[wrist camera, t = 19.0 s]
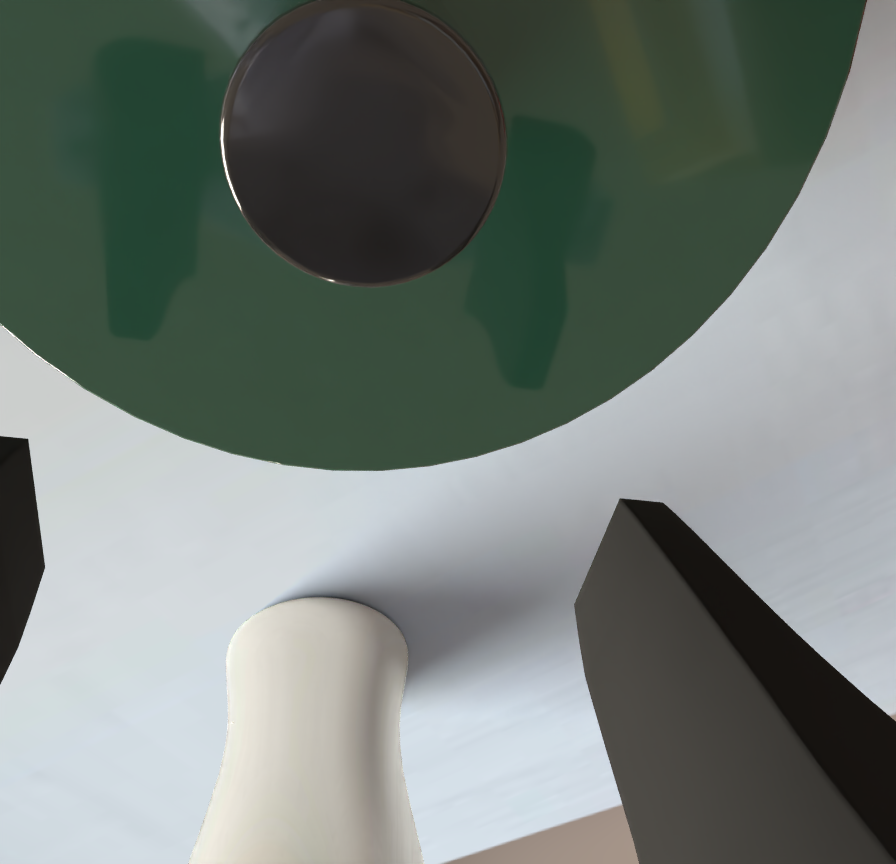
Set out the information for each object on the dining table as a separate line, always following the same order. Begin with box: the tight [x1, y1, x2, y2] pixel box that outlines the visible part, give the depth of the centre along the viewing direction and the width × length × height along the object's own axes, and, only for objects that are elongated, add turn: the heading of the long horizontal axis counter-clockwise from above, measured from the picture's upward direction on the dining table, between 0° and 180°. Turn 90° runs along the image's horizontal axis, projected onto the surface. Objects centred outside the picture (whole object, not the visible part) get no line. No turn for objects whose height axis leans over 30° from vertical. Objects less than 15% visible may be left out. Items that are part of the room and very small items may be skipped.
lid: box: [0, 0, 867, 471], centre depth 8 cm, size 12×12×5 cm
